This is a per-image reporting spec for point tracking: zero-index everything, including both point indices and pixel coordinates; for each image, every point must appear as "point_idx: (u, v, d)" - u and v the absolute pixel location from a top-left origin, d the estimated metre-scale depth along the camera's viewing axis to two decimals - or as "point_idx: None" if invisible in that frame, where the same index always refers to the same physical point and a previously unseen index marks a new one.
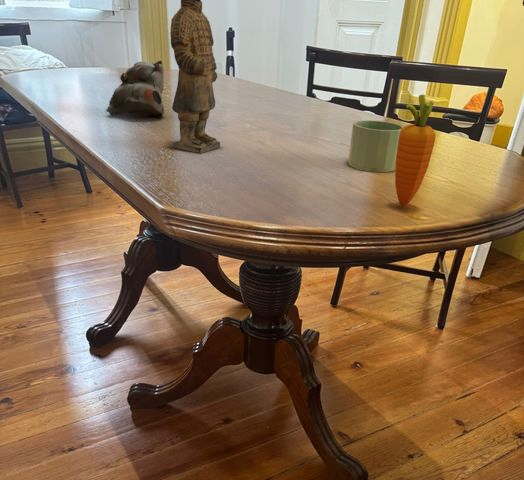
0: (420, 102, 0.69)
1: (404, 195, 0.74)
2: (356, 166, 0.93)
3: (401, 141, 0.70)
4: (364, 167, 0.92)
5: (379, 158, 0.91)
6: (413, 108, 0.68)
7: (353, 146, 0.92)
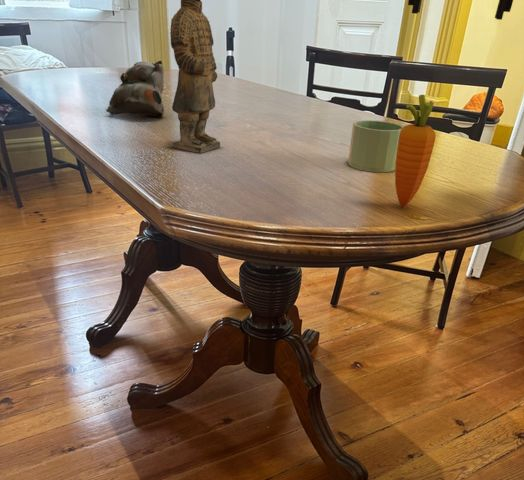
0: (420, 102, 0.69)
1: (404, 195, 0.74)
2: (356, 166, 0.93)
3: (401, 141, 0.70)
4: (364, 167, 0.92)
5: (379, 158, 0.91)
6: (413, 108, 0.68)
7: (353, 146, 0.92)
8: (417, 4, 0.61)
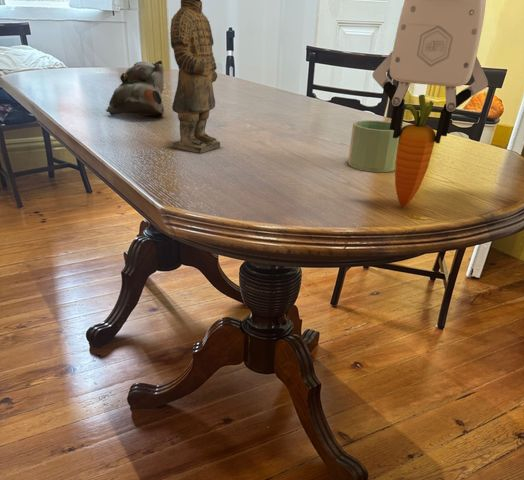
0: (420, 102, 0.69)
1: (404, 195, 0.74)
2: (356, 166, 0.93)
3: (401, 141, 0.70)
4: (364, 167, 0.92)
5: (379, 158, 0.91)
6: (413, 108, 0.68)
7: (353, 146, 0.92)
8: (397, 131, 0.70)
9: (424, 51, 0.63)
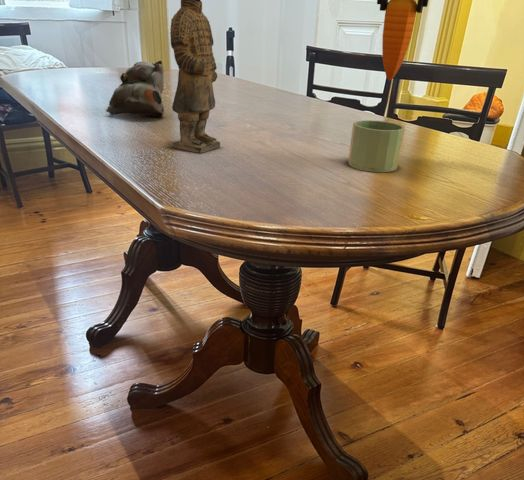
0: None
1: (390, 67, 0.83)
2: (356, 166, 0.93)
3: (387, 12, 0.80)
4: (364, 167, 0.92)
5: (379, 158, 0.91)
6: None
7: (353, 146, 0.92)
8: (383, 3, 0.79)
9: None
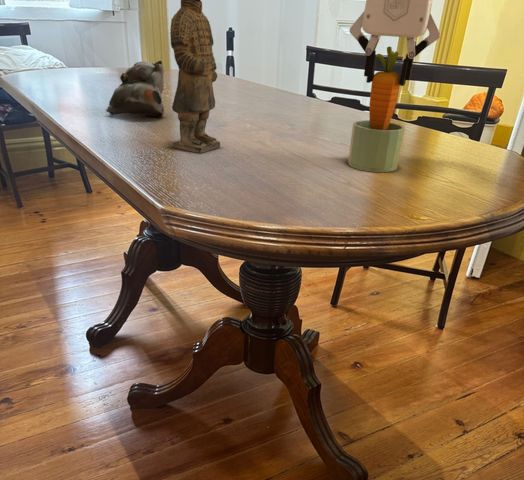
0: (388, 53, 0.86)
1: None
2: (356, 166, 0.93)
3: (373, 85, 0.87)
4: (364, 167, 0.92)
5: (379, 158, 0.91)
6: (382, 57, 0.85)
7: (353, 146, 0.92)
8: (370, 77, 0.87)
9: (388, 9, 0.80)
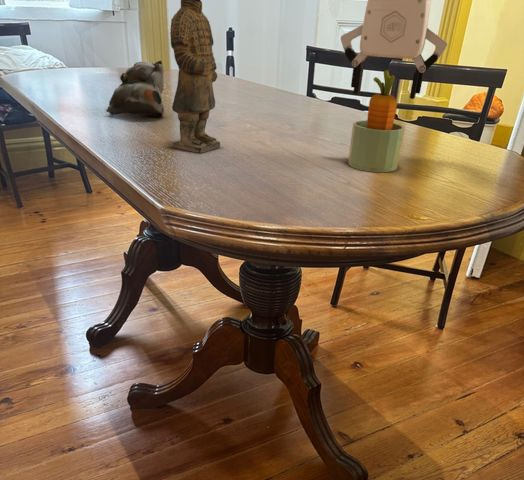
0: (384, 76, 0.88)
1: None
2: (356, 166, 0.93)
3: (370, 107, 0.89)
4: (364, 167, 0.92)
5: (379, 158, 0.91)
6: (379, 80, 0.87)
7: (353, 146, 0.92)
8: (356, 88, 0.88)
9: (385, 31, 0.82)
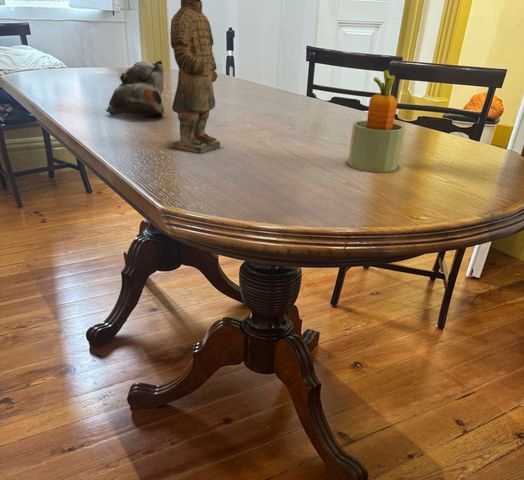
0: (384, 76, 0.88)
1: None
2: (356, 166, 0.93)
3: (370, 107, 0.89)
4: (364, 167, 0.92)
5: (379, 158, 0.91)
6: (379, 80, 0.87)
7: (353, 146, 0.92)
8: None
9: None
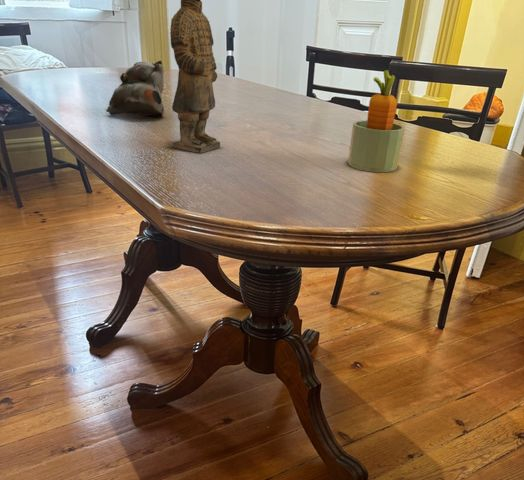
0: (384, 76, 0.88)
1: None
2: (356, 166, 0.93)
3: (370, 107, 0.89)
4: (364, 167, 0.92)
5: (379, 158, 0.91)
6: (379, 80, 0.87)
7: (353, 146, 0.92)
8: None
9: None
